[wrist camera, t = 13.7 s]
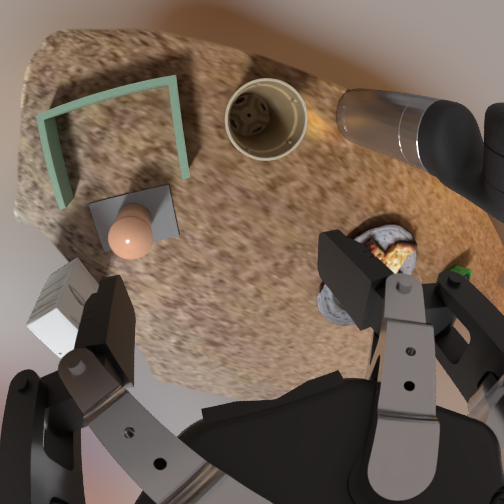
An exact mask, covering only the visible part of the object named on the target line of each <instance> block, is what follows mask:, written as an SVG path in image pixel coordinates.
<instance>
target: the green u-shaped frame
mask: <svg viewBox="0 0 504 504" xmlns="http://www.w3.org/2000/svg"><path fill="white" fill-rule="evenodd" d="M164 86H169V94H170V102H171V109H172V116H173V123H174V130H175V137H176V144H177V150H178V156H179V162H180V169H181V174H182V179H186V178H190V173H189V167H188V160H187V154H186V147H185V140H184V133H183V126H182V119H181V111H180V104H179V96H178V88H177V79H176V75H171V76H166V77H160V78H155V79H151V80H146V81H141V82H137V83H133V84H129V85H125V86H121V87H117V88H113V89H110V90H106V91H103V92H99V93H96V94H93V95H89V96H86V97H83V98H80V99H77V100H74V101H71V102H69V103H66V104H63V105H60V106H58V107H55V108H53V109H50V110H47V111H45V112H43V113H40V114H38V115H36V118H37V123H38V129H39V134H40V139H41V144H42V148H43V153H44V157H45V161H46V165H47V169H48V173H49V176H50V180H51V184H52V187H53V191H54V194H55V197H56V201H57V204H58V207H59V210H61V209H64V208H66V207H67V206H68V204H69V203H70V202H71V201H72V200H73V198H74V196H73V193H72V189H71V186H70V182H69V178H68V174H67V170H66V166H65V162H64V158H63V154H62V149H61V145H60V140H59V135H58V130H57V125H56V119H55V117H57V116H59V115H62V114H65V113H68V112H71V111H73V110H76V109H79V108H82V107H85V106H89V105H92V104H95V103H98V102H102V101H105V100H109V99H112V98H116V97H120V96H124V95H128V94H132V93H136V92H140V91H145V90H149V89H154V88H159V87H164Z"/></svg>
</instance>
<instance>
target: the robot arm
mask: <svg viewBox="0 0 504 504" xmlns="http://www.w3.org/2000/svg"><path fill="white" fill-rule="evenodd" d="M336 118H337V124H338V127H339V129H340V131H341V133H342V134H343V136H344V137H345V138H346V139H348V140H349V141H351V142H353V143H355V144H358V145H361V146H364V147H366V148H369V149H372V150H374V151H377V152H379V153H382V154H385V155H387V156H390V157H392V158H395V159H397V160H399V161H402V162H404V163H407V164H409V165H411V166H414V167H416V168H418V169H421V170H423V171H425V172H427V173H429V174H431V175H433V176H435V177H437V178H438V179H439V180H440V182H441V183H442V184H444V185H445V186H446V187H448V188H449V189H451V190H453V191H455V192H456V193H458V194H460V195H461V196H463V197H465V198H466V199H468V200H469V201H471V202H472V203H474V204H475V205H477V206H478V207H480V208H481V209H483V210H484V211H485V212H487V213H489V214H490V215H492V216H493V217H495V218H496V219H497V220H499V221H501V222H502V223H504V103H495V104H492V105H491V106H489V107H488V108H487V110H486V113H485V122H484V142H483V139H482V136H481V133H480V130H479V127H478V124H477V122H476V119H475V118H474V116H473V114H472V113H471V112H470V111H469V109H467V108H466V107H465V106H463V105H462V104H459V103H456V102H452V101H448V100H443V99H437V98H432V97H427V96H420V95H413V94H407V93H399V92H391V91H381V90H372V89H353V90H351V91H348V92H347V93H346V94H345V95H344V96H343V97H342V98H341V100H340V102H339V104H338V107H337V113H336ZM318 272H319V275H320V277H321V279H322V280H323V282H324V283H325V284H326V285H327V287H328V288H329V289H330V291H331V292H332V293H333V295H334V296H335V297H336V299H337V300H338V301H339V303H340V304H341V305H342V307H343V308H344V309H345V311H346V312H347V313H348V315H349V316H350V317H351V319H352V320H353V321H354V323H355V324H356V325H357V327H358V328H359V329H360V331H361V330H364V329H366V328H369V327H372V329H373V333H372V338H371V346H370V353H369V359H368V366H367V372H366V376H365V379H361V378H345V379H343V377H342V376H341V374H340V372H339V370H337V371H335V372H332V373H329V374H326V375H324V376H321V377H318V378H315V379H312V380H309V381H307V382H305V383H303V384H302V385H300V386H298V387H297V388H295V389H293V390H292V391H290V392H288V393H286V394H285V395H283V396H281V397H279V398H277V399H274V400H260V401H236V402H231V403H227V404H223V405H218V406H213V407H208V408H204V409H201V410H202V415H203V419H201V420H199V421H197V422H195V423H193V424H192V425H190V426H189V427H187V428H186V429H185V430H184V431H182V432H181V433H180V434H179V435H178V436H177V437H176V436H175V435H174V434H172V433H171V432H170V431H169V430H168V429H167V428H166V427H164V425H162V424H161V423H160V422H159V421H158V420H157V419H156V418H155V417H154V416H152V414H151V413H150V412H149V411H148V410H146V409H145V408H144V407H143V406H142V405H141V404H140V403H139V402H138V401H137V400H136V399H135V398H134V397H133V396H132V395H131V394H130V392H129V391H128V390H127V389H126V388H130V387H134V346H135V323H136V318H135V312H134V308H133V305H132V302H131V300H130V298H129V295H128V293H127V290H126V288H125V285H124V283H123V280H122V278H121V276H120V275H115V276H110V277H105V278H102V279H101V280H100V283H99V287H98V291H97V293H92V294H91V295H90V297H89V298H88V300H87V301H86V302H85V305H84V308H83V312H82V313H83V314H82V316H81V320H80V321H81V322H80V324H79V328H78V332H77V336H76V341H75V345H74V349H73V350H71V351H69V352H68V353H67V354H65V355H64V356H63V358H62V359H61V361H60V363H59V365H58V370H57V371H55V372H53V373H51V374H48V375H46V376H44V377H41V378H40V377H39V376H38V375H37V373H36V372H35V371H33V370H30V369H28V370H23V371H21V372H19V373H18V374H17V375H16V376H15V377H14V378H13V379H12V381H11V383H10V386H9V391H8V395H7V400H6V405H5V411H4V417H3V423H2V431H1V438H0V504H85V496H84V487H83V475H82V459H81V428H83V427H86V426H89V427H90V429H91V430H92V431H93V433H94V434H95V435H96V437H97V438H98V439H99V441H100V442H101V443H102V445H103V446H104V447H105V448H106V450H107V451H108V452H109V453H110V454H111V456H112V457H113V458H114V459H115V460H116V461H117V463H118V464H119V465H120V466H121V467H122V468H123V470H124V471H125V472H126V473H127V474H128V475H129V476H130V477H131V478H132V479H133V480H134V481H135V483H136V484H137V485H138V486H139V487H140V488H141V489H142V490H143V491H142V492H141V494H140V496H139V497H138V499H137V500H136V502H135V504H504V473H503V469H502V461H501V450H500V449H501V448H502V447H503V446H504V315H503V314H502V313H501V312H500V311H499V310H498V309H497V308H496V307H495V306H494V305H493V304H492V303H491V302H490V301H489V300H488V299H487V298H486V297H485V296H484V295H483V294H482V293H481V292H480V291H479V290H478V289H477V288H476V287H475V286H474V285H472V284H471V283H470V282H469V281H468V280H467V279H466V278H465V277H464V276H463V275H461V274H459V273H457V272H454V271H443V272H441V273H440V274H439V275H438V278H437V281H436V283H430V284H421V283H420V282H419V281H418V280H417V279H416V278H415V277H413V276H411V275H408V274H403V273H396V274H395V273H394V272H393V271H391V270H390V269H389V268H388V267H387V266H386V265H385V264H384V263H383V262H382V261H381V260H380V259H379V258H377V257H375V255H374V254H373V253H372V252H371V251H369V249H368V248H366V247H365V246H364V245H363V244H362V243H360V242H358V241H356V240H354V239H351V238H350V239H349V238H348V237H346V236H345V235H344V234H343V233H342V232H341V231H340V230H338V229H336V230H331V231H326V232H322V233H320V235H319V243H318ZM456 318H458V319H459V320H460V321H461V323H462V324H463V325H464V326H465V327H466V328H467V329H468V331H469V333H470V336H471V339H470V343H469V345H468V343H467V342H466V341H465V340H464V338H463V337H462V336H461V335H460V334H459V333H458V331H457V330H456V329H455V328H454V327H453V325H454V322H455V320H456ZM435 357H436V358H437V360H438V361H439V362H440V364H441V365H442V367H443V368H444V369H445V371H446V372H447V374H448V375H449V376H450V378H451V379H452V381H453V382H454V384H455V385H456V387H457V388H458V389H459V391H460V392H461V394H462V395H463V397H464V398H465V400H466V401H467V403H468V411H469V414H468V415H467V416H465V415H462V414H459V413H456V412H454V411H451V410H448V409H445V408H442V407H440V406H436V363H435ZM44 429H45V433H44V448H43V431H44Z"/></svg>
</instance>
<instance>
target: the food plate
mask: <svg viewBox="0 0 504 504" xmlns="http://www.w3.org/2000/svg"><path fill="white" fill-rule="evenodd" d="M360 234H362V235H361V236H356V237H355V238H354V240H356V241H358V242H360V243H362V244H363V245H364V246H365V247H366V248H368V249H369V251H371V252H372V253H373V254H374V255H375V257H377V258H379V259H380V260H381V261H382V262H383V263H384V264H385V265H386V266H387V267H388V268H389V269H390V270H391V271H393V272H394V273H395V274H396V273H403V274H408V275H411V274H412V271H413V270H414V267H415V264H416V257H417V255H416V247H417V244H416V242H415V240H414V239H413V236H412V234H411V233H410V232H409V231H408V230H407V229H405V228H404V227H402V226H400V225H398V224H392V223H389V224H384V225H381V226H378V227H372V228H369V229H368V230H365V231H364V232H363V233H360ZM320 293H321V294H320ZM320 293H319V294H318V307H319V309H320V312H321V313H322V314H323V315H324V316H325V317H326V318H327V320H328V321H330V322H332V323H335V324H336V325H343V326H344V325H346V326H347V325H356V324H355V323H354V321H353V320H352V319H351V317H350V316H349V315H348V313H347V312H346V311H345V309H344V308H343V307H342V305H341V304H340V303H339V301H338V300H337V299H336V297H335V296H334V295H333V293H332V292H331V291H330V289H329V288H328V287H327V285H326V284H324V287H323V289H322V291H321V292H320Z"/></svg>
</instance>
